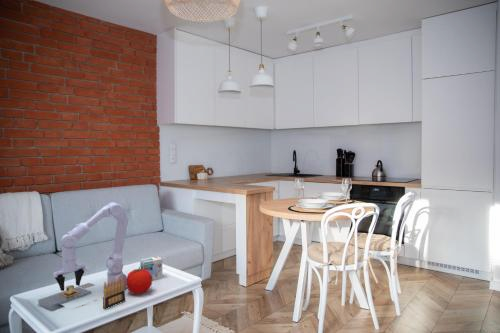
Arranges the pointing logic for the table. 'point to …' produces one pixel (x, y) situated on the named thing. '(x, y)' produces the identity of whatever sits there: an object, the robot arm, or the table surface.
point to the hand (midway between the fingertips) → (70, 287)
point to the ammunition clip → (113, 293)
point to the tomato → (139, 281)
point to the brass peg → (69, 290)
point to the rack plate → (61, 299)
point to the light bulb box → (152, 266)
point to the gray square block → (86, 285)
